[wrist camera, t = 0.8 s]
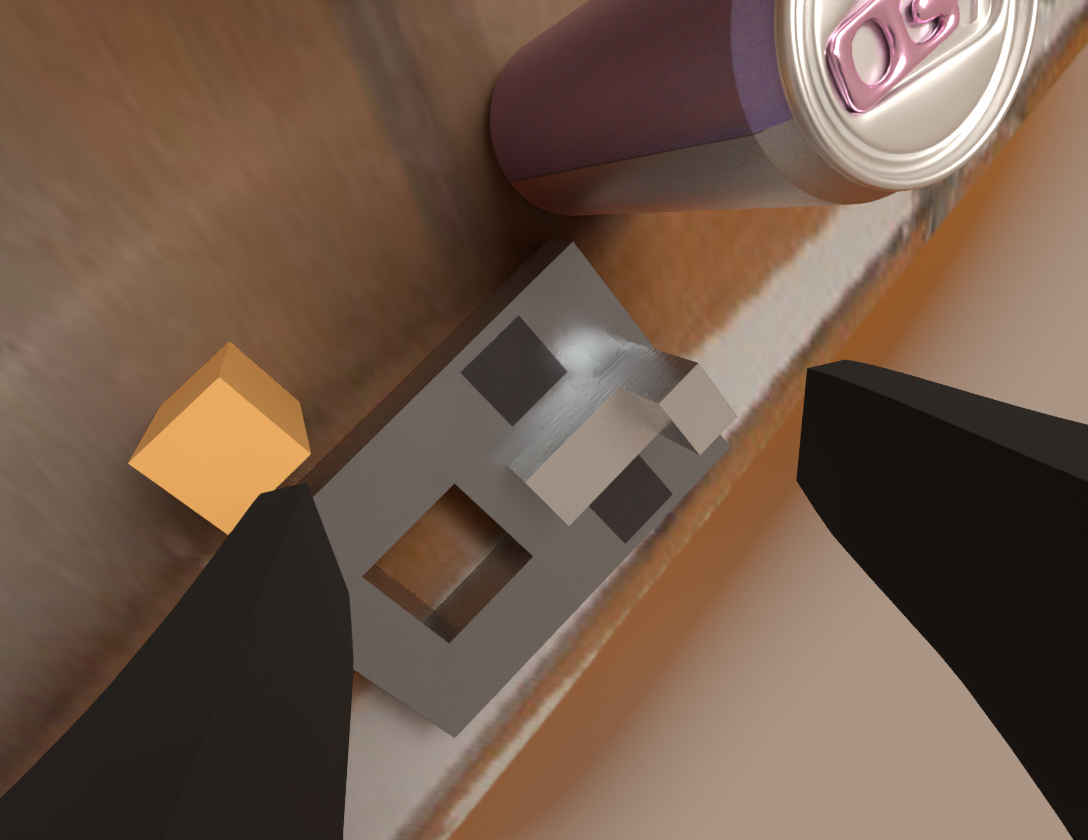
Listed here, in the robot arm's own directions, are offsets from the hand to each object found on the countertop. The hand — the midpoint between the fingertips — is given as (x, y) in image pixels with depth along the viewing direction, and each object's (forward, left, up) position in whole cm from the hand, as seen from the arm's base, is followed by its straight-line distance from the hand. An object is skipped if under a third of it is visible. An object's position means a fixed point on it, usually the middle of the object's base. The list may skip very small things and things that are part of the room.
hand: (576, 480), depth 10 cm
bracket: (+3, -7, -14) cm, 16 cm away
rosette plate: (-1, -7, -16) cm, 18 cm away
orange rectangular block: (-5, +2, -16) cm, 17 cm away
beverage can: (+10, +1, -16) cm, 19 cm away
